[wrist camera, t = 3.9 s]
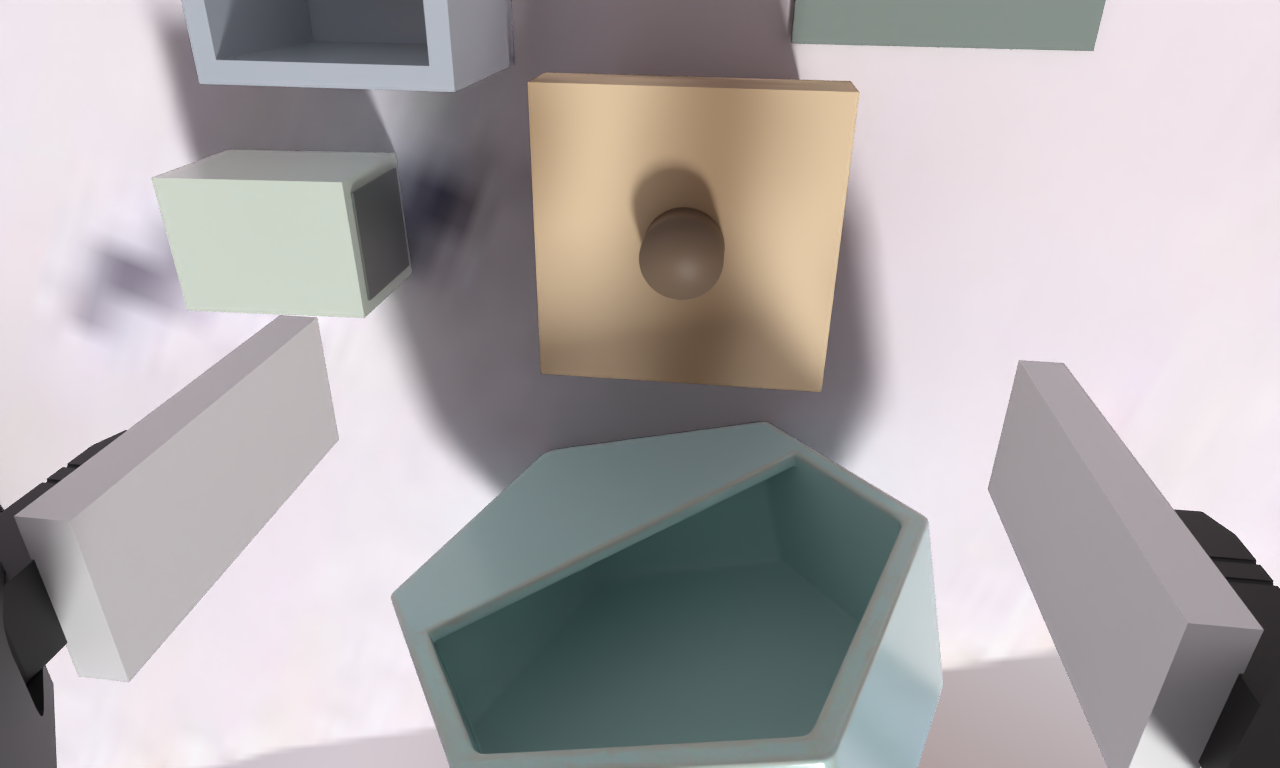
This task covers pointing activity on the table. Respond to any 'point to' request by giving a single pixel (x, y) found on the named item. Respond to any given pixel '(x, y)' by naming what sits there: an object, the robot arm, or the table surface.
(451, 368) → the table surface
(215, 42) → the blue-grey box
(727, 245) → the lid
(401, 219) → the pale green block
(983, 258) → the table surface
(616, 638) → the planter
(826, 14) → the felt mat
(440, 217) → the table surface
